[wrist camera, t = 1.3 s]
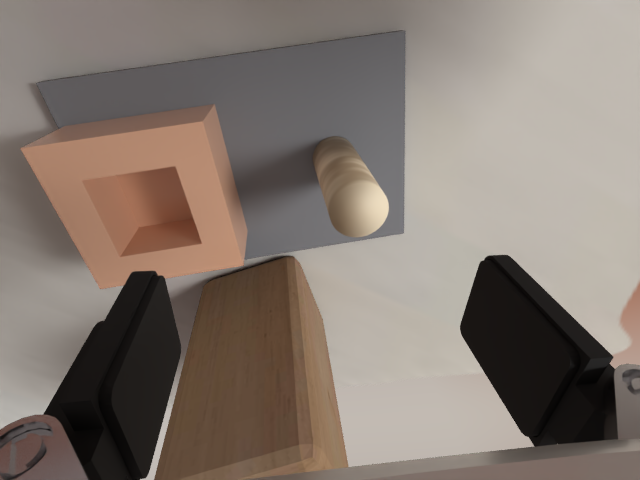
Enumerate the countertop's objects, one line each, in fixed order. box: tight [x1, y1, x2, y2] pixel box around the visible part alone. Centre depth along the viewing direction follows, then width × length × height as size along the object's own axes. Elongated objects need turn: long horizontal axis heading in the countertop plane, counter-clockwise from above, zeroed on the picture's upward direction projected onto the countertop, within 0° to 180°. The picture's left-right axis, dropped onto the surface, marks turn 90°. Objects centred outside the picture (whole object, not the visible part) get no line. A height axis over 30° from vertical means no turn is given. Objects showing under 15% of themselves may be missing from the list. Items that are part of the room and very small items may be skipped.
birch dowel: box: [313, 136, 389, 237], centre depth 26 cm, size 4×4×10 cm
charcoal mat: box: [36, 31, 405, 259], centre depth 30 cm, size 26×17×1 cm, turn 97°
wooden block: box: [154, 256, 348, 480], centre depth 30 cm, size 10×10×20 cm
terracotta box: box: [20, 104, 248, 289], centre depth 27 cm, size 11×11×6 cm
